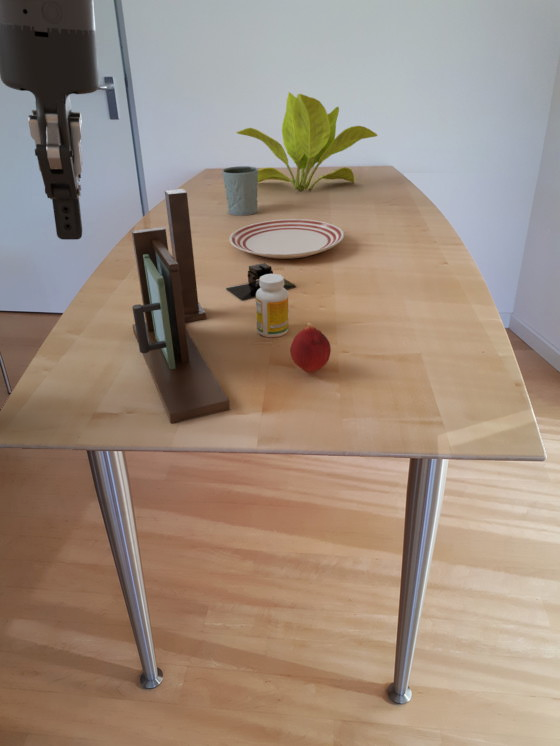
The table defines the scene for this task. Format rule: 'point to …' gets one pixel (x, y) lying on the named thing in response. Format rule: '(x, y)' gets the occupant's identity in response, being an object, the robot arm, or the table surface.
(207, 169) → the table surface
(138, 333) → the window sash
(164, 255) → the window frame
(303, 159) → the artificial plant
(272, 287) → the supplement bottle
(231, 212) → the embossed green cup
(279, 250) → the dinner plate
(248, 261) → the table surface
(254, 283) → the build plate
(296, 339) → the onion
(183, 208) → the end post
